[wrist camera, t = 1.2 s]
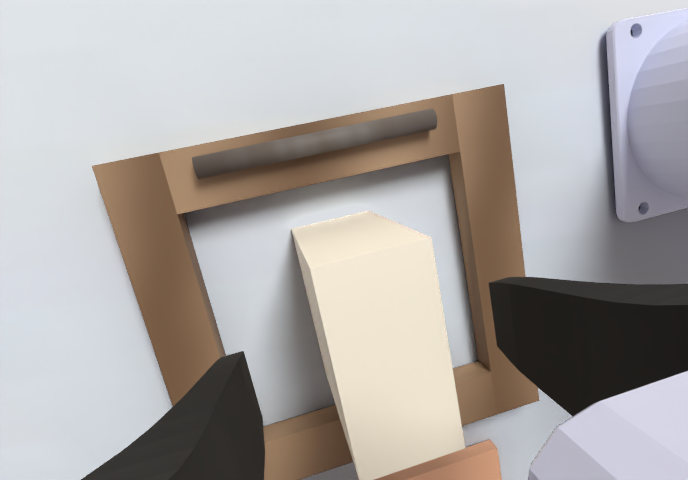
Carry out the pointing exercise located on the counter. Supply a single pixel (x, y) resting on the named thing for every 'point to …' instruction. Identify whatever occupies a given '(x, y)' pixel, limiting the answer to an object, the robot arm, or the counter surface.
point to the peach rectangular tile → (456, 466)
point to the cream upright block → (382, 340)
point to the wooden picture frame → (306, 169)
